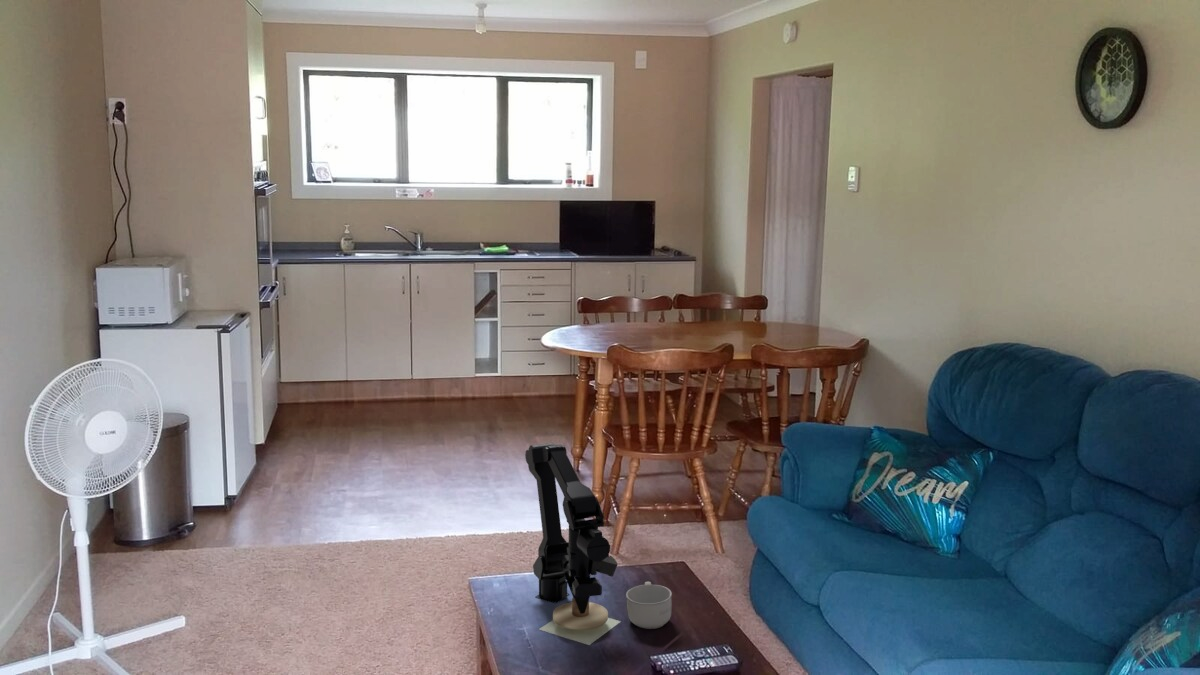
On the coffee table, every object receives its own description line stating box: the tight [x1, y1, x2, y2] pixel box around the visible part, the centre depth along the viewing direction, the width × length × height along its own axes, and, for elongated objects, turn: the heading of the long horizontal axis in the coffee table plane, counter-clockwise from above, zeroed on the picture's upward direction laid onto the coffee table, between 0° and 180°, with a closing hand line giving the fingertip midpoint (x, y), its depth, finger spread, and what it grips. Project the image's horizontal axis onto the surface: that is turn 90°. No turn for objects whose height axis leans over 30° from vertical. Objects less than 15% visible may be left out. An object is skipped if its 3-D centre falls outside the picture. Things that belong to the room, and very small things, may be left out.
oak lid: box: [552, 596, 609, 630], centre depth 231 cm, size 13×13×4 cm
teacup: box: [625, 581, 673, 630], centre depth 234 cm, size 14×11×8 cm
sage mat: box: [538, 617, 622, 646], centre depth 231 cm, size 14×14×1 cm
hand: (580, 609), depth 231 cm, fingers closed on oak lid, 4 cm apart
